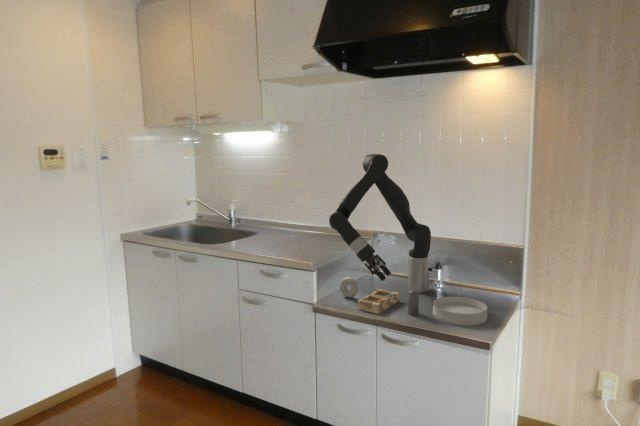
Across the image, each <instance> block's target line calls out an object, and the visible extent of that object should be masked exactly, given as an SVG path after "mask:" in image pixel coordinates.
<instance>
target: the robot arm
mask: <svg viewBox="0 0 640 426" xmlns="http://www.w3.org/2000/svg"><path fill="white" fill-rule="evenodd" d="M388 167H389V160H388V158H387V156H385V155H383V154H381V153H369V154H366V155H365V156H364V157H363V159H362V168H363V170H364V172H365V174H364V175H363V176H362V177H361V178H360V179H359V180H358V181H357V182H356V183H355V184H354V185H353V186H352V187H350V188H349V189H348V191H347V192H346V193H345V194H344V197H343V198H342V199H341V200H340V202H339V205H338V207H337V208H336V210H335V211H334V212H332V213H331V214H330V215H329V219H328V222H329V226H330V227H331V229H333V230H335V231H336V232H337V233H338V234H339V235H340V236H341V238H342V241H344V242H345V244H346V245H348V247H349V248H350V250H351V251H352V252H353V254H354V255H355V256H356V257H357V258H358V259H359V260H360V261H361V262H362V263H364V262H365V263H364V265H365V267H366V268H367V270H369V272H370V273H371V274H372V275H375V276H377V277H378V278H379V280H380V281H382V282H383V281H385V280H386V278H387V277H389V276H390V275H391V274H392V272H391V271H390V270H389V269H388V267H387V263H386V262H385V261H384V259H382V257H380V255H379V254H378V253H376V254H375V252H376V250H375V249H374V247H373V246H371V244H370V243H369V242H368V241H367V240H366V238H364V237H363V236H362V235H361V234H360V232H359V231H357V229H355V228H354V227H353V225H352V224H351V222H350V221H349V219H350V217H351V215H352V214H353V212H355V209H357V207H358V205H359V204H360V202H361V201H362V199H363V198H364V196H365V195H366V193H368V191H370V189H371V188H372V186H373V185H375V186H376V187H377V190H378V191H379V192H380V194H381V196H382V197H383V199H384V201H385V202H386V204H387V205H388V207H389V209H390V210H391V212H392V213H393V214H394V216H395V218H396V219H397V220H398V222H399V223H400V225H401V227H402V230H403V231H404V234H405V236H406V237H407V239H408V240H410V241H411V242H412V243H414V244H413V247H412V248H411V249H409V250H408V276H407V277H408V278H407V280H408V281H407V290H408V291H409V290H418V291H419V294H422V293H426V292H428V291H430V271H428V268H429V264H428V263H429V253H430V250H431V239H432V232H431V231H432V230H431V229H430V227H429V226H428V225H425V224H422V223H419V222H417V221H416V220H415V217H414V216H413V215H412V212H411V206H410V201H409V199H408V197H407V195H406V194H405V192H404V191H403V190H402V188H401V187H400V186H399V184H397V183H396V182H395V181H393V180H392V178H390V177H389V176H388V174H387V173H386V171H387V170H388ZM385 275H386V276H387V277H386V276H385Z"/></svg>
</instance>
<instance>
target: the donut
mask: <svg viewBox="0 0 640 426" xmlns="http://www.w3.org/2000/svg"><path fill="white" fill-rule="evenodd" d="M348 285H349V286H350V290H349V289H348ZM339 289H340V292H341V294H342V295H343V296H344V297H346V298H349V299H353V298H354V297H356V296H357V295H358V292H359V284H358V282H357V281H356V279H354V278H353V277H351V276H346V277H344V278H342V279H341V281H340V284H339Z"/></svg>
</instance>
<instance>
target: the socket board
mask: <svg viewBox="0 0 640 426" xmlns="http://www.w3.org/2000/svg"><path fill="white" fill-rule="evenodd" d="M398 302H400V292H396V291H391V290H385V289H381V288H380V289H377V290H375V291H373V292H371V293H370V294H368V295H365V296H364V297H362V298H360V299H358V300H357V310H359V311H363V312H369V313H373V314H377V315H379V314H381V313H382V312H384V311H385V310H387V309H389V308H390V307H392V306H394V305H395V304H397V303H398Z"/></svg>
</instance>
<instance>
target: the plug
mask: <svg viewBox="0 0 640 426" xmlns="http://www.w3.org/2000/svg"><path fill="white" fill-rule="evenodd" d="M407 297H408V299H407V314H408V315H409V316H413V317H415V316H419V311H420V310H419V309H420V293H419V291H418V290H408V296H407Z"/></svg>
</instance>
